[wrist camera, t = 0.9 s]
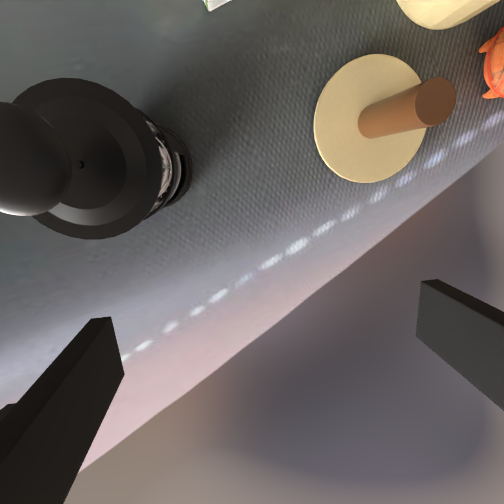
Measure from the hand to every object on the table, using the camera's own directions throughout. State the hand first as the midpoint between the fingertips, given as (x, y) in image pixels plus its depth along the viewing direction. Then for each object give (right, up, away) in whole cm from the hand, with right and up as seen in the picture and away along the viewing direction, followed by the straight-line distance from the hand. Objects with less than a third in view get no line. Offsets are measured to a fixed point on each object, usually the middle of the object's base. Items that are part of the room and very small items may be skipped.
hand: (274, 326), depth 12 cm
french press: (-13, +13, +21) cm, 28 cm away
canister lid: (+13, +18, +21) cm, 31 cm away
